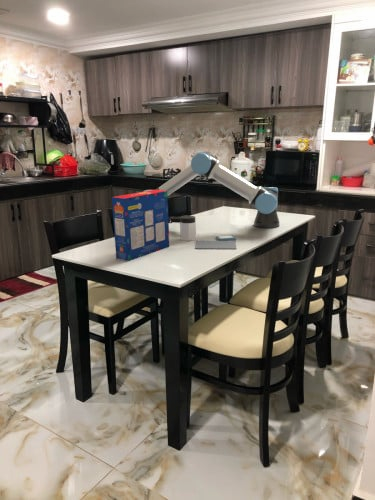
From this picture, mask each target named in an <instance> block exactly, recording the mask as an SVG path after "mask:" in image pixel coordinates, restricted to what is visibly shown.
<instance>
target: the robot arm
mask: <svg viewBox="0 0 375 500" xmlns="http://www.w3.org/2000/svg"><path fill="white" fill-rule="evenodd" d="M197 176H204V178H205V179H208V180H210V179H213V180H215V181H216V182H218V183H220V184H221V185H223V186H225V187H226V188H228V189H230V190H231V191H233V192H234V193H236V194H238V195H240V197H243V198H245V200H248V203H249V205H250V206H252V207H254V208H255V209H256V210H257V211H256V215H255V218H254V221H253V226H254V227H257V228H264V229H273V228H274V229H275V228H278V227H280V220H279V216H278V198H279V195H278V194H279V189H278V187H275V186H274V187H273V186H272V187H267V186H264V187H263V186H262V185H260V186H256V185H254V184H253V183H252V182H250V181H248V180H246V179H245V178H243V177H241V176H240V175H238V174H236V173H235V172H233V171H231V170H230V169H228V168H226V167H225V166H224V165H221V162H220V160H218V159H217V158H216V157H215V156H214V155H213V154H212V152H208V151H202V152H201V151H200V152H197V153H196V154H194V155H193V157H192V158H191V160H190V165H188V166H187V167H186V168H184V169H183V170H181V171H180V172H179V173H177V174H176V175H175V176H173V177H172V178H170V179H168V180H167V181H166V182H165V183H163V184H161V186H159V187H157V188H156V189H155V190H164V191H168V196H170V195H171V194H173V193H175V191H177V190H179V189H180V188H181V187H183V186H184V185H185V184H187V183H189V182H190V181H191V180H194V178H196V177H197ZM150 190H151V189H146V190H143V192H145V191H150ZM180 217H181V216H180ZM180 217H179V216H168V220H169V224H173V223H176V224H177V223H178V224H180Z"/></svg>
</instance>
